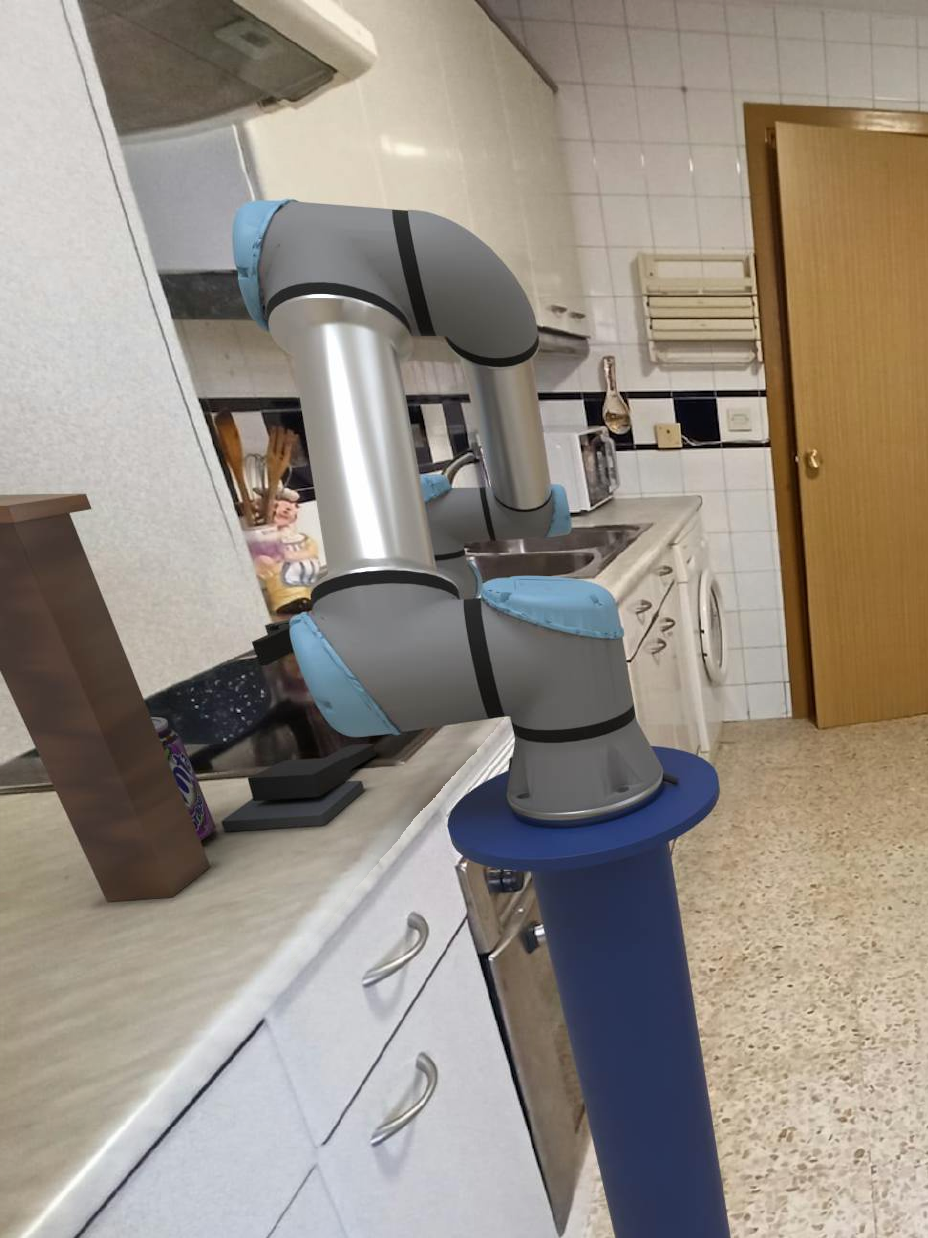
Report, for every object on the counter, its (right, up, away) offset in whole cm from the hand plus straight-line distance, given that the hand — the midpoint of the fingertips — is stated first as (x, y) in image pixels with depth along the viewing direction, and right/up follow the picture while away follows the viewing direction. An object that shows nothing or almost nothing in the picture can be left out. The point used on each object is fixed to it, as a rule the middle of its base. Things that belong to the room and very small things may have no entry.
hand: (327, 651), depth 95 cm
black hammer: (+1, -14, -1) cm, 14 cm away
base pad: (+2, -17, -6) cm, 18 cm away
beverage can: (-5, -20, -13) cm, 24 cm away
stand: (0, -23, -19) cm, 30 cm away
